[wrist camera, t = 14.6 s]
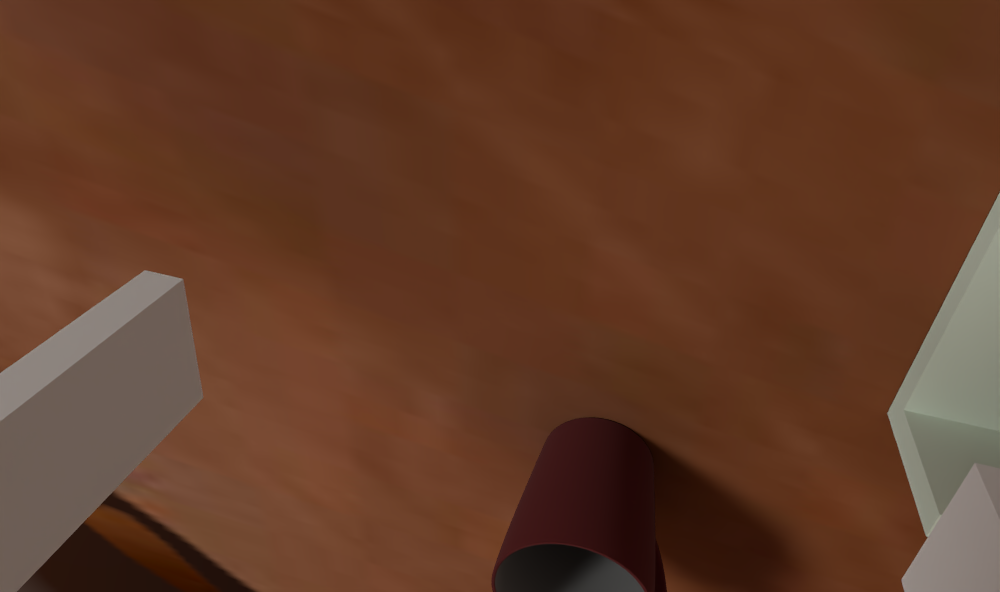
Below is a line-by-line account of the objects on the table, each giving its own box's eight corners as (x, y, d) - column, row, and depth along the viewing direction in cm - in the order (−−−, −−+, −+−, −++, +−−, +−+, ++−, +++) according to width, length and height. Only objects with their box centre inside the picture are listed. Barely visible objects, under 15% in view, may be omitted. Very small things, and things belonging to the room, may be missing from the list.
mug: (722, 508, 47) (724, 662, 38) (617, 551, 52) (597, 698, 43) (606, 386, 45) (578, 520, 35) (507, 442, 49) (459, 574, 40)
